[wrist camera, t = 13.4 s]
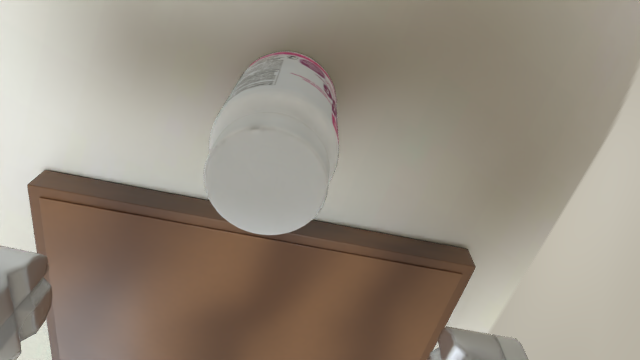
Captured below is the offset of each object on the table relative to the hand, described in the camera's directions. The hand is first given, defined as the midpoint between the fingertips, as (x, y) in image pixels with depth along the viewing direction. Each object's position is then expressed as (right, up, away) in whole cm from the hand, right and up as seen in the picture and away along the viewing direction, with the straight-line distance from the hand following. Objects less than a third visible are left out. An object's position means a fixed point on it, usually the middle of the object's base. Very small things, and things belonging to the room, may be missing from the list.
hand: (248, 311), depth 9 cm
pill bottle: (0, +7, +12) cm, 14 cm away
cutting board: (-3, -5, +19) cm, 20 cm away
